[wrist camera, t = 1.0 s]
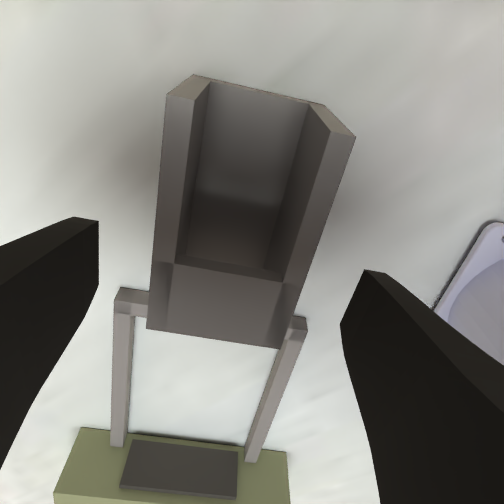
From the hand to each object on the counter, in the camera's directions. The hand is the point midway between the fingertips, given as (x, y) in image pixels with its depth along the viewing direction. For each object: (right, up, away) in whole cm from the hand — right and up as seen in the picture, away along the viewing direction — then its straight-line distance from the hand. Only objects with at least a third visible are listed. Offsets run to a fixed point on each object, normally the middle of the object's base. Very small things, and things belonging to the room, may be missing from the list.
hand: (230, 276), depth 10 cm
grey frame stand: (-3, -9, +13) cm, 16 cm away
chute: (0, +3, +6) cm, 7 cm away
